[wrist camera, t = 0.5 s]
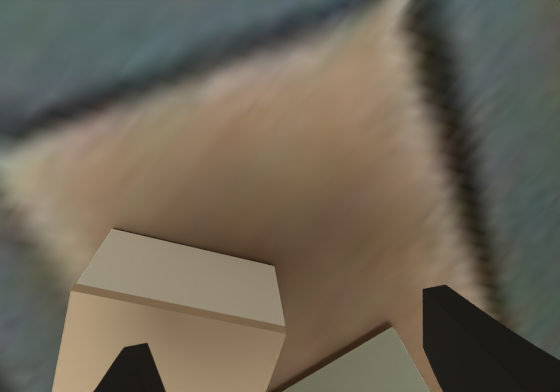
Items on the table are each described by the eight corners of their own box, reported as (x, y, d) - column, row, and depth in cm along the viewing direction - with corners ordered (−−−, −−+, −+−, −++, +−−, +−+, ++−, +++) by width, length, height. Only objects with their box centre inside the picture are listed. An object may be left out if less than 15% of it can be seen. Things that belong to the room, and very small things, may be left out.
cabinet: (222, 418, 25) (220, 517, 20) (76, 395, 23) (32, 495, 18) (274, 266, 22) (287, 334, 17) (111, 228, 21) (71, 290, 15)
